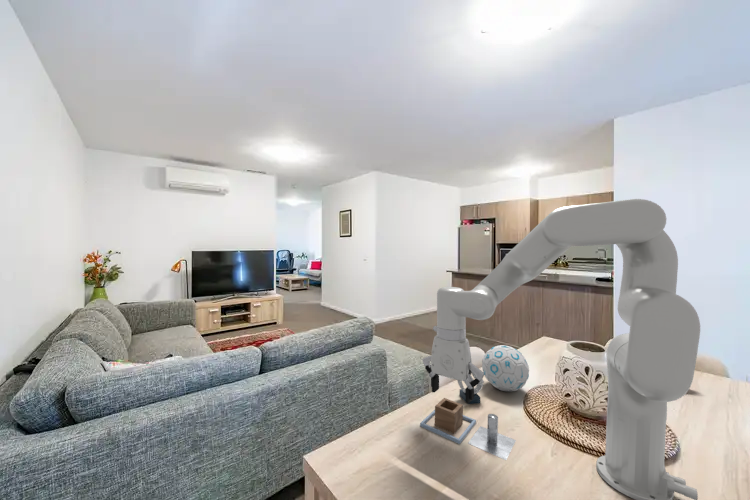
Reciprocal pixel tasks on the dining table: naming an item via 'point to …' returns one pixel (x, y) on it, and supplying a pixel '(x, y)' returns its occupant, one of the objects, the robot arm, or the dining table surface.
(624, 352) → the robot arm
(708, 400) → the dining table surface
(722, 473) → the dining table surface
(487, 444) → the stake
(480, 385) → the watch
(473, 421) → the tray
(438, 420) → the collar
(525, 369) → the puzzle ball
